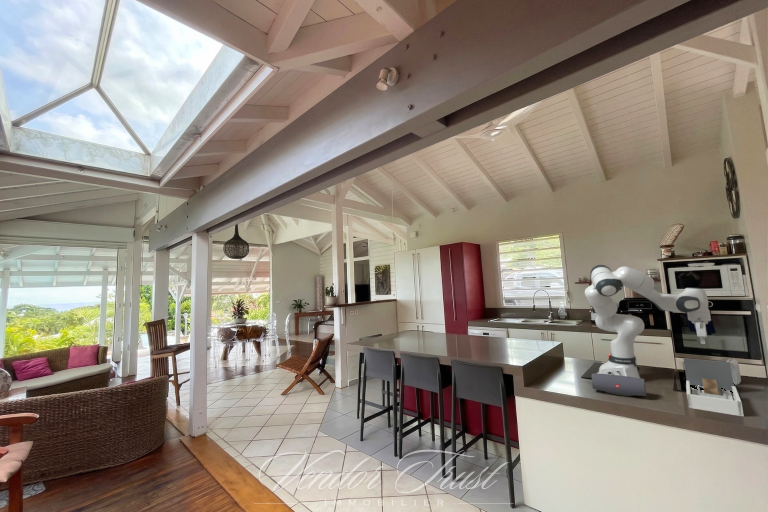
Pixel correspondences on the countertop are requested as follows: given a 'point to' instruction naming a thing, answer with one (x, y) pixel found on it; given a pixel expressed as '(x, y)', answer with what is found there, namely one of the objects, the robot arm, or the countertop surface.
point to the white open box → (715, 403)
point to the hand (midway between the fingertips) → (702, 342)
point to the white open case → (709, 376)
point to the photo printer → (735, 371)
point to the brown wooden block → (710, 386)
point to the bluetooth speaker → (619, 384)
